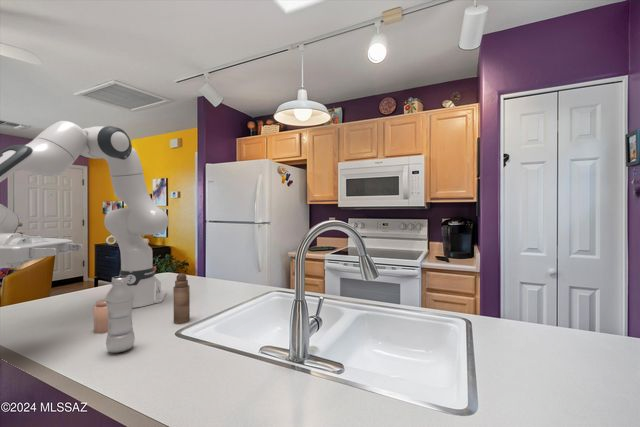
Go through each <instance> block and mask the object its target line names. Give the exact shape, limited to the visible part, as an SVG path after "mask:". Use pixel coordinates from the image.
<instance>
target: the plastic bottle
mask: <svg viewBox="0 0 640 427" xmlns="http://www.w3.org/2000/svg"><path fill="white" fill-rule="evenodd" d="M127 283H128V276H120V275H118V276H113V277H111V286H112V287H111V288H110V289H109V291H108V292H107V293H106V295H105V299H104V300H106V306H107V311H108V318H109V319H108V332H107V335H106V339H105V346H106V350H107V351H108V352H109V353H112V354H115V353H122V352H127V351H128V350H130V349H132V348H133V347H134V345H135V340H136V339H135V338H136V337H135V332H134V327H133V315H132V314H133V308H132V306H133V299H134V294H133V291H132V290H131V289H130V288H129V287H128V285H127Z"/></svg>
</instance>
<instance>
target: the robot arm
mask: <svg viewBox="0 0 640 427" xmlns="http://www.w3.org/2000/svg"><path fill="white" fill-rule="evenodd" d="M78 157H80V158H84V159H96V160H97V159H99V160H100V159H104V161H106V163H107V165H108V170H109V175H110V180H111V184H112V189H113V194H114V196H115V197H116V198H117V199H119V200H120V201H122V202H123V203H124V204H125V205H126V207H122V208H117V209H112V210H110V211H108V212H107V213H106V215H105V216H104V220H103V223H104V227H105V229H106V230H107V232H109V233H110V234H111V235H112V236H113V237H114V238H115V241H116V242H117V245H118V248H119V251H120V270H119V275H118V276H128V283H127V285H128V287H129V288H130V289H131V290H132V291H133V294H134V299H133V306H132V309H133V308H134V309H135V308H141V307H147V306H151V305H154V304H159V303H162V302H163V301H164V300H165V297H166V296H167V293H168V292H167V291H166V290H162V285H161V281H160V280H159V279H158V278H157V277H156V276H155V274H156V273H155V272H156V270H157V266H154V265H153V260H154V259H153V256H154V255H153V248H152V247H151V246H150V245H149V244H147V243H146V242H145V241H144V239H143V236H153V235H159V234H163V233H164V232H166V230H167V228H168V226H169V216H168V214H167V213H166V212H165V211H164V210H163V209H161V208H160V207H159V206H158V205H156V203H155V202H154V200H153V199H152V197H151V196H150V194H149V192H148V188H147V185H146V180H145V175H144V171H143V170H144V169H143V166H142V163H141V160H140V156H139V154H138V152H137V150H136V149H135V148H134V147H133V146H132V141H131V139H130V137H129V135H128V134H127V132H125V130H123V129H122V128H119V127H118V126H112V125H107V126H102V125H101V126H100V125H98V126H95V125H94V126H91V127H86V128H85V127H84V128H83V127H81V126H80V125H78V124H77V123H74V122H72V121H67V120H60V121H57V122H55V123H53V124H51V125H50V126H48V127H47V128H45V129H44V130H42V131H41V132H40V133H39V134H38V135H36V136H35V138H34V139H32V140H31V141H29V142H28V143H27V144H14V145H13V144H12V145H9V146H8V147H5V148H4V149H2V150H0V183H2V182H3V181H5V179H7V178H8V177H10V176H11V175H12V174H14V173H16V172H18V171H23V170H24V171H26V172H28V173H32V174H36V175H38V176H44V177H55V176H60V175H62V174H63V173H65V172H66V171H67V170H69V168H70V167H71V166H72V165H73V164H74V163H75V161H76V160H77V159H78ZM19 224H20V219H19V216H18V214H16V213H15V212H14V211H12V210H11V209H9V208H8V207H6V206H5V205H4V204H1V203H0V269H14V268H19V267H22V266H23V265H25V264H27V263H29V262H32V261H34V260H35V261H36V260H39V259H42V258H43V259H44V258H47V257H48V258H49V257H53V256H59V255H63V254H69V253H73V252H79V251H82V250H83V244H81V243H74V240H72V239H68V238H54V237H42V236H41V235H28V234H23V233H18V232H17V230H18V228H19V226H20V225H19ZM16 232H17V233H16Z"/></svg>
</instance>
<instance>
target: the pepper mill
mask: <svg viewBox="0 0 640 427" xmlns="http://www.w3.org/2000/svg"><path fill="white" fill-rule="evenodd" d="M187 278H188V277H187V274H186V273H183V272H180V273H178V274H177V275H176V280H175V281H174V286H173V290H172V291H173V324H174V325H175V324H176V325H184V324H187V323H189V322H190V320H191V319H190V318H191V317H190V315H191V314H190V313H191V312H190V311H191V310H190V308H191V306H190V304H191V303H190V301H191V300H190V299H191V298H190V296H191V295H190V294H191V293H190V292H191V291H190V285H189V279H187Z"/></svg>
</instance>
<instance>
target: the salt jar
mask: <svg viewBox="0 0 640 427" xmlns="http://www.w3.org/2000/svg"><path fill="white" fill-rule="evenodd" d="M108 319H109V318H108V311H107V306H106V300H105V299H101V300H97V301H96V302H95V305H94V306H93V333H94V334H96V333H101V334H107V333H108ZM106 332H107V333H106Z"/></svg>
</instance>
